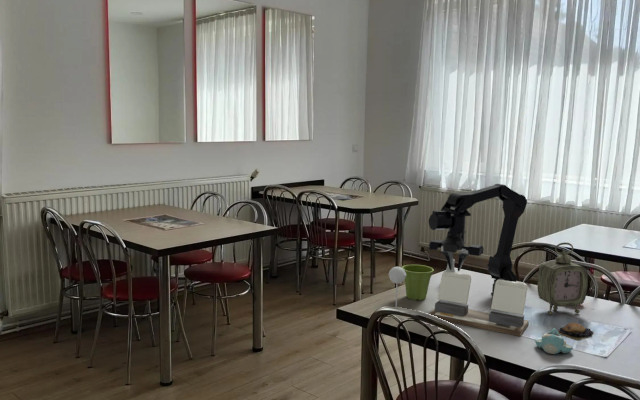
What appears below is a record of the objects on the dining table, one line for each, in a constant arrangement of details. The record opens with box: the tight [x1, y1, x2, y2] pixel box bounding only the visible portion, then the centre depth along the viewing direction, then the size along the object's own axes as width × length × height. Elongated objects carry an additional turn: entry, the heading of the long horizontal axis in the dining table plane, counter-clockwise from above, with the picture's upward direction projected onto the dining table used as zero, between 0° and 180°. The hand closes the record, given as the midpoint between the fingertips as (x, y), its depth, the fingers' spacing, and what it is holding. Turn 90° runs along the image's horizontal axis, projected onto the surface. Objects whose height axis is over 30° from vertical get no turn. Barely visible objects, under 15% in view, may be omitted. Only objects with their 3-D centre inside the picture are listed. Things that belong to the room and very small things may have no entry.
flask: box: [445, 258, 457, 273], centre depth 237 cm, size 7×7×10 cm
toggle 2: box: [490, 280, 528, 315], centre depth 189 cm, size 2×10×10 cm, turn 59°
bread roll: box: [557, 322, 595, 341], centre depth 184 cm, size 11×8×4 cm
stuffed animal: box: [534, 327, 574, 355], centre depth 171 cm, size 11×7×12 cm
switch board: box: [428, 300, 529, 337], centre depth 193 cm, size 12×30×4 cm, turn 59°
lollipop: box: [388, 266, 406, 308], centre depth 204 cm, size 6×6×15 cm
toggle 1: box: [437, 270, 472, 305], centre depth 199 cm, size 2×10×10 cm, turn 59°
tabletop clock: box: [537, 242, 589, 316], centre depth 202 cm, size 14×9×25 cm, turn 102°
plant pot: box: [401, 264, 434, 301], centre depth 217 cm, size 12×12×11 cm
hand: (454, 270), depth 211 cm, fingers open, 3 cm apart
